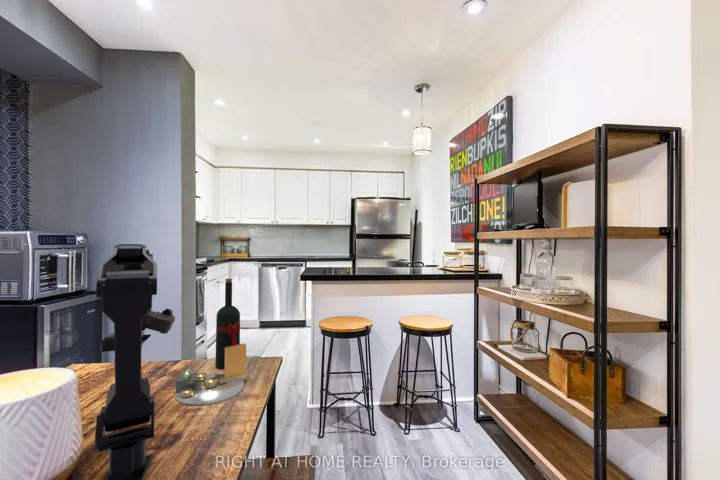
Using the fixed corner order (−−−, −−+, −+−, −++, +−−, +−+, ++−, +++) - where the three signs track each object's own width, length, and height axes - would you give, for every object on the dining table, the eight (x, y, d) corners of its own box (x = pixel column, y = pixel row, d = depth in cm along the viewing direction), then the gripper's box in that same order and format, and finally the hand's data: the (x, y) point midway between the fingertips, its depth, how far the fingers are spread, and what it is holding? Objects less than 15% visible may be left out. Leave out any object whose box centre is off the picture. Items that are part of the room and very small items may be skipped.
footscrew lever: (206, 388, 93) (206, 353, 93) (202, 384, 96) (203, 349, 96) (247, 377, 100) (247, 345, 100) (242, 374, 103) (243, 342, 103)
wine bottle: (224, 373, 107) (225, 281, 107) (211, 364, 114) (212, 278, 114) (247, 367, 113) (248, 279, 113) (233, 359, 120) (234, 276, 120)
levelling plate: (242, 400, 90) (242, 379, 90) (167, 409, 84) (168, 387, 84) (244, 374, 107) (245, 357, 107) (182, 380, 101) (183, 362, 101)
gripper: (160, 309, 71) (160, 381, 71) (180, 294, 89) (179, 352, 89) (99, 311, 68) (98, 387, 68) (132, 296, 85) (131, 356, 85)
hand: (132, 369), depth 77 cm, fingers closed
